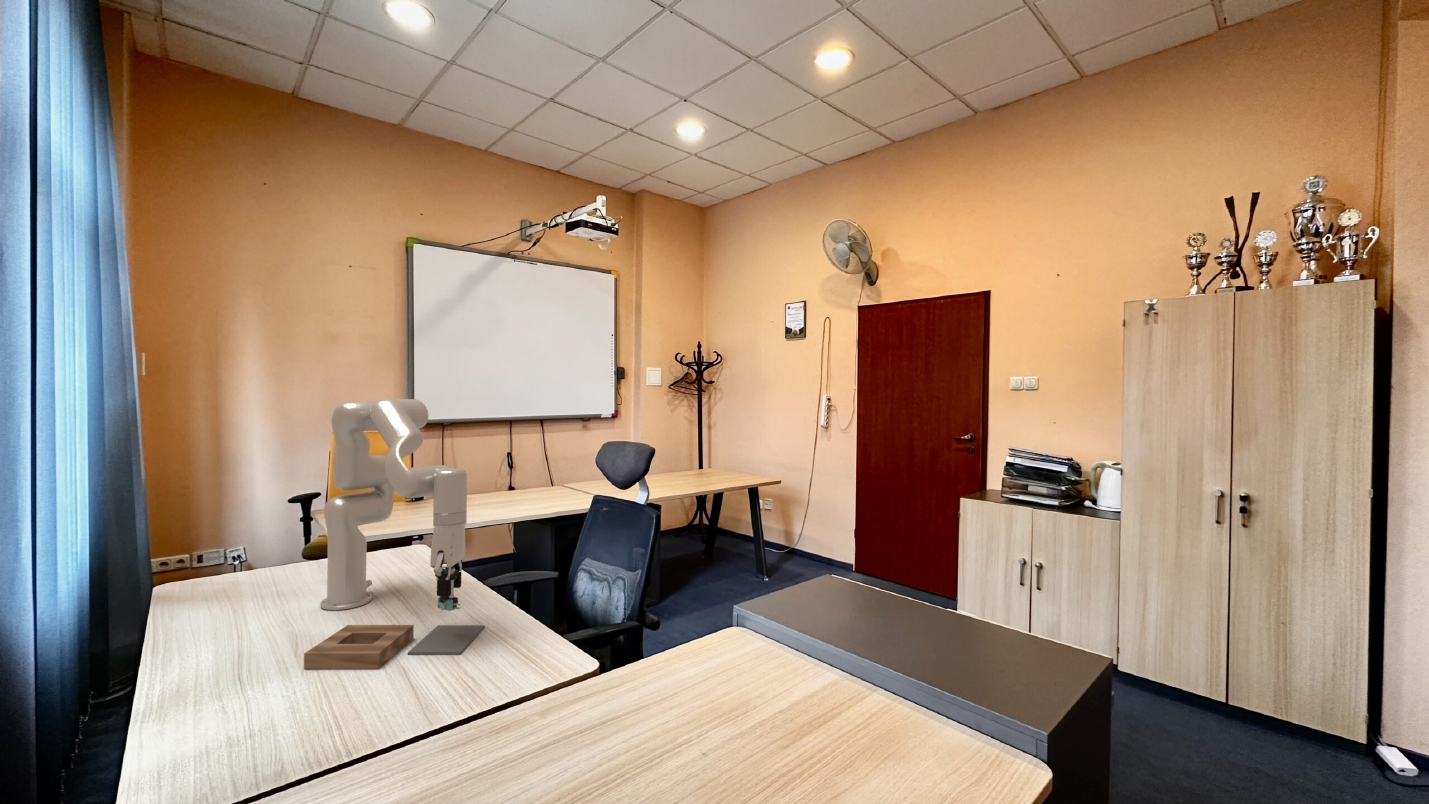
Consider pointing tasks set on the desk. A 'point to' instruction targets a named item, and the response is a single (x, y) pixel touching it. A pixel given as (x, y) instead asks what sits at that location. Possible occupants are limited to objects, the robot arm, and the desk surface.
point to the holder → (359, 647)
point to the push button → (450, 601)
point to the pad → (447, 640)
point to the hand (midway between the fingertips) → (449, 590)
